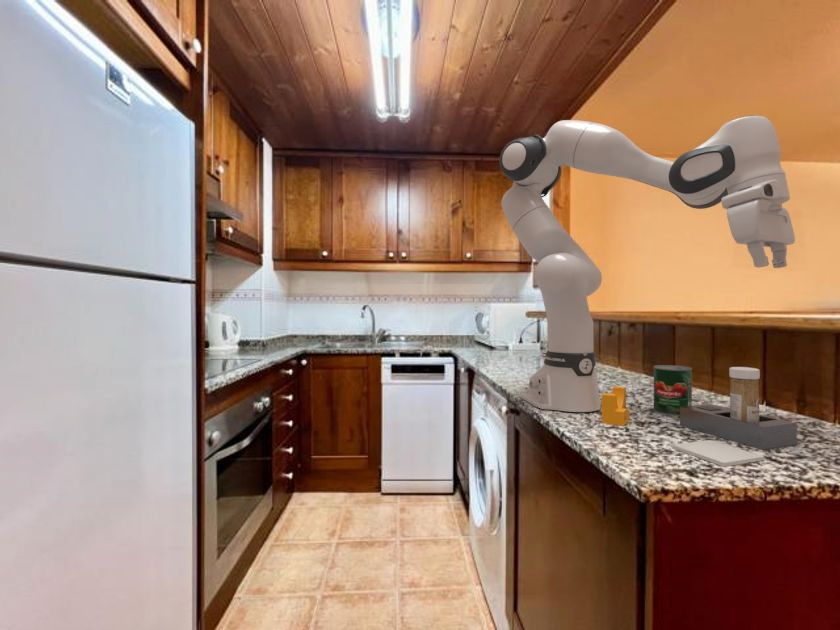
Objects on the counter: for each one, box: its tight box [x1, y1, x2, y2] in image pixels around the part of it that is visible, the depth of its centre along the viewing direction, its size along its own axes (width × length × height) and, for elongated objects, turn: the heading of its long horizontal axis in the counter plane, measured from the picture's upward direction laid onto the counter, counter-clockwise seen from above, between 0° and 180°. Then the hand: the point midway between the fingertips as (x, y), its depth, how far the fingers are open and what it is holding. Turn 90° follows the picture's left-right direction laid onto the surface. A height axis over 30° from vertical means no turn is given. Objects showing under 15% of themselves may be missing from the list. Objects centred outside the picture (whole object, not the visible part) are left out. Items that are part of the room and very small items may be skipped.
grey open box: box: [679, 403, 798, 451], centre depth 79 cm, size 16×9×4 cm, turn 17°
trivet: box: [671, 439, 766, 468], centre depth 68 cm, size 9×9×1 cm
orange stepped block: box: [601, 385, 631, 427], centre depth 91 cm, size 12×4×6 cm, turn 142°
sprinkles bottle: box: [728, 366, 761, 423], centre depth 77 cm, size 5×5×14 cm
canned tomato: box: [653, 364, 693, 417], centre depth 96 cm, size 8×8×11 cm
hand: (771, 267), depth 77 cm, fingers open, 8 cm apart
